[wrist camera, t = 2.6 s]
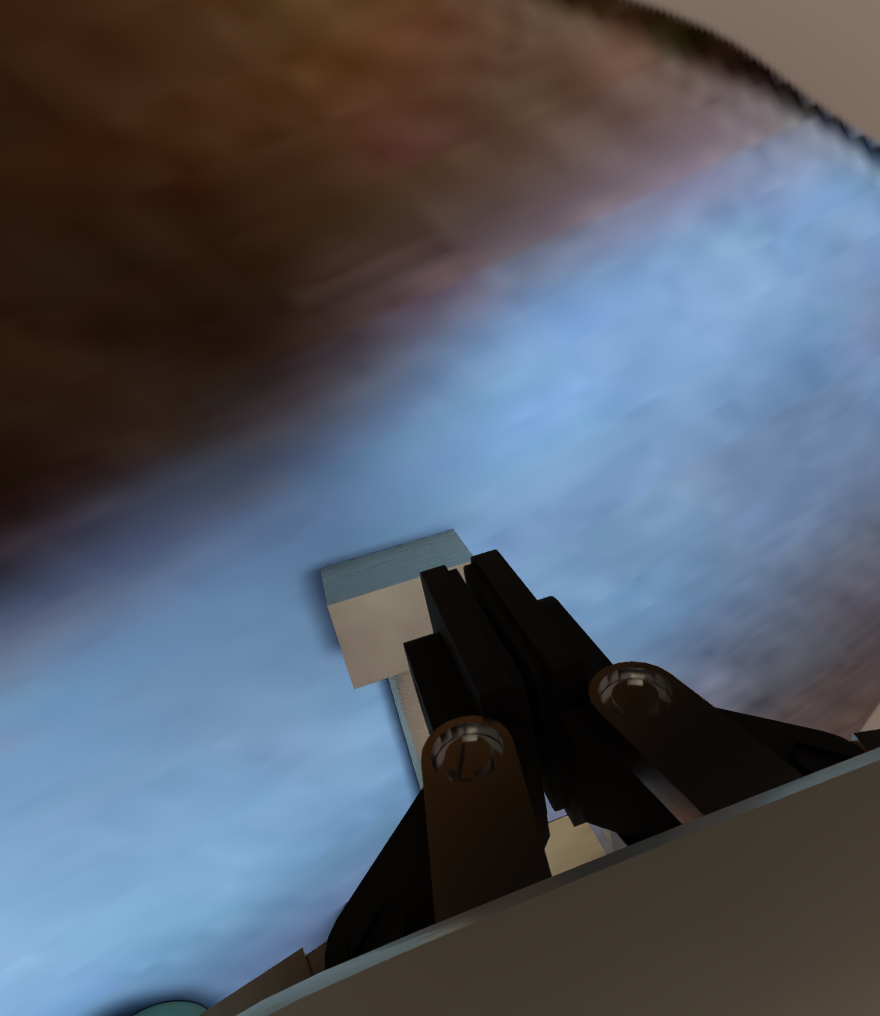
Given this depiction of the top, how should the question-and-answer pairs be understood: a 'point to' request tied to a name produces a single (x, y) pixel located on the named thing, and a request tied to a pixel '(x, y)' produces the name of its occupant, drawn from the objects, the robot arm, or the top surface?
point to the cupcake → (173, 1009)
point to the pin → (389, 618)
